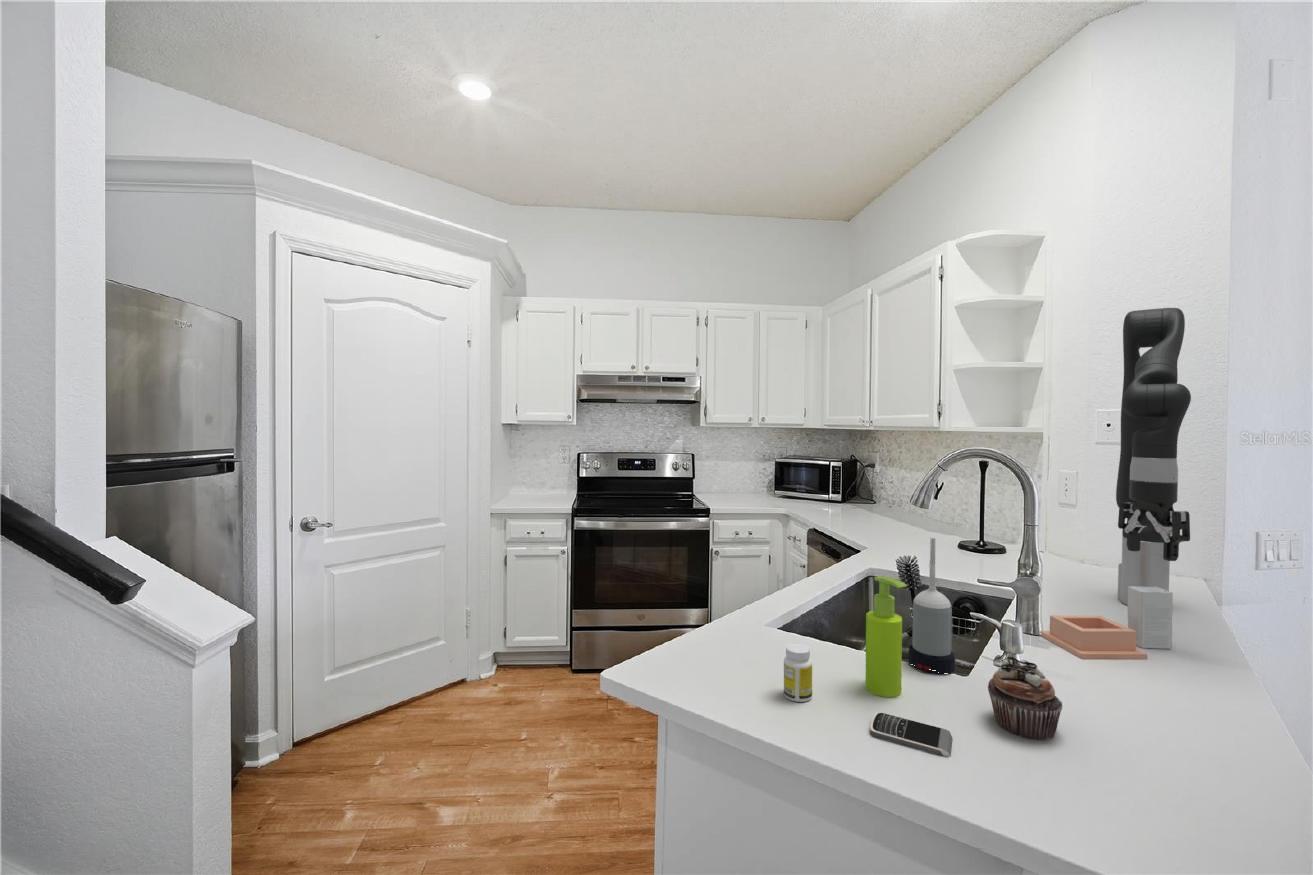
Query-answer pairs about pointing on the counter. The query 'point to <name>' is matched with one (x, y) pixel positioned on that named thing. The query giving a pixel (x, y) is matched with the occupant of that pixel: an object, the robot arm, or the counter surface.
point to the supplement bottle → (798, 673)
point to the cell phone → (912, 734)
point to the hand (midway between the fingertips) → (1151, 555)
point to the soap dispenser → (884, 642)
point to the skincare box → (1150, 616)
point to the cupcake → (1024, 700)
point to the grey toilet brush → (932, 628)
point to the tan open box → (1093, 637)
